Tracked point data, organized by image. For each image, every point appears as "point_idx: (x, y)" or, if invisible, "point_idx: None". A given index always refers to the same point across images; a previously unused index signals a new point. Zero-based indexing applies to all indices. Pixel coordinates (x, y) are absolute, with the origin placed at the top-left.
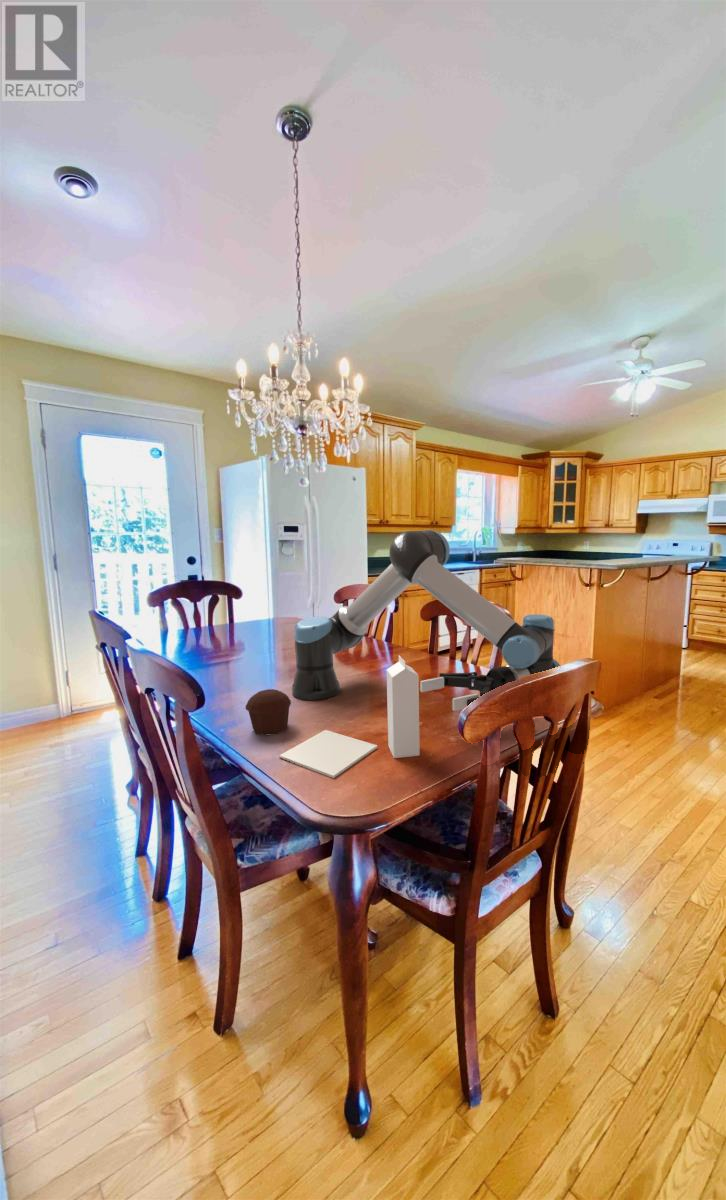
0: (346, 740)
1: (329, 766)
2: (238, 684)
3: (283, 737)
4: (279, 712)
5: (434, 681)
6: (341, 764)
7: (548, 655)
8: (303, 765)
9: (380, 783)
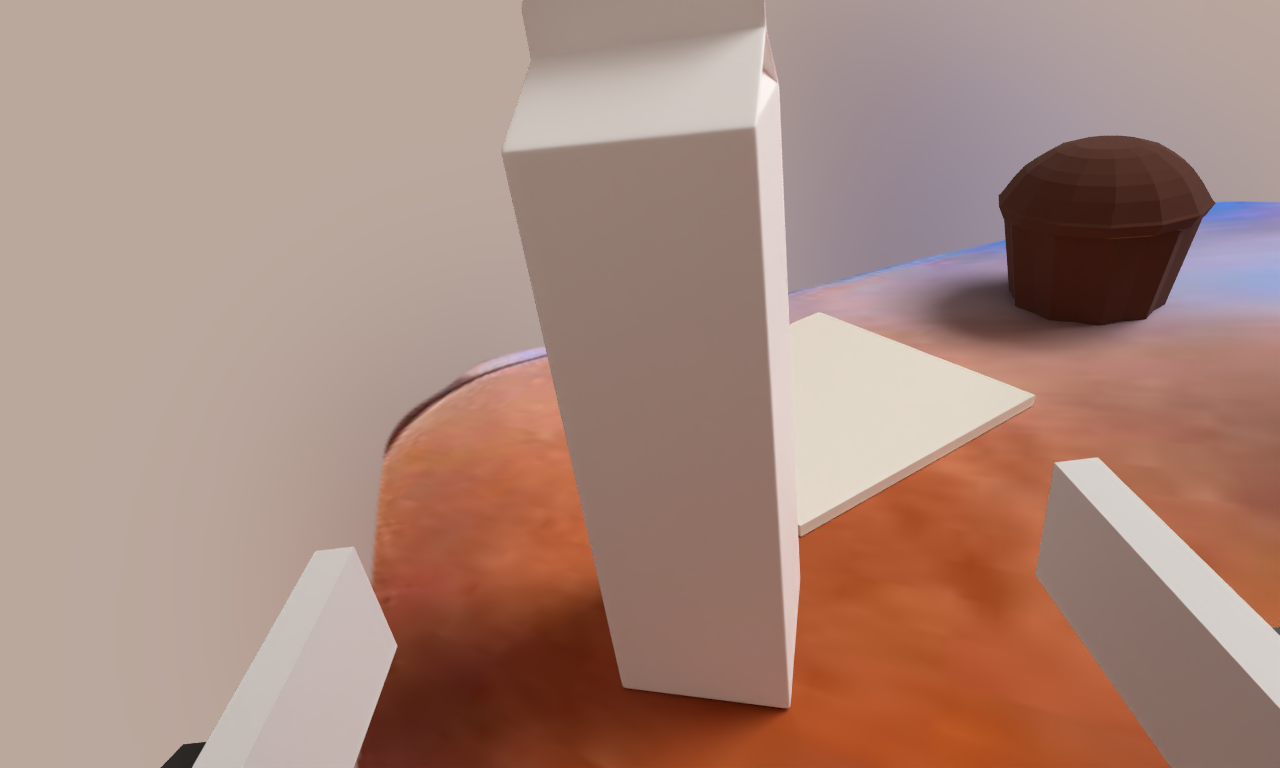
0: (892, 440)
1: None
2: None
3: (986, 321)
4: (1025, 228)
5: (1188, 647)
6: None
7: None
8: None
9: (507, 491)
